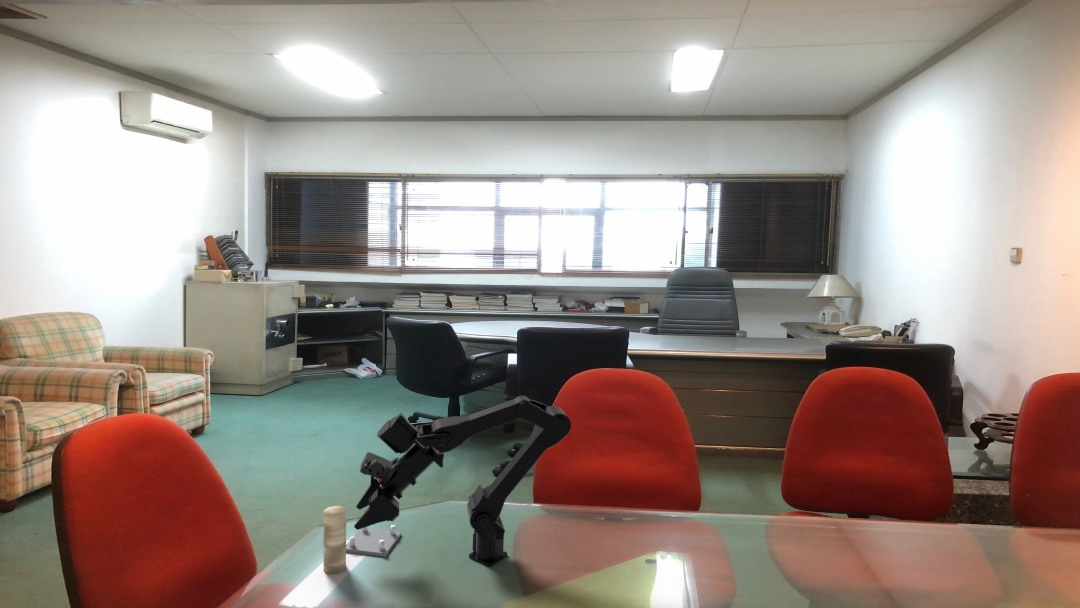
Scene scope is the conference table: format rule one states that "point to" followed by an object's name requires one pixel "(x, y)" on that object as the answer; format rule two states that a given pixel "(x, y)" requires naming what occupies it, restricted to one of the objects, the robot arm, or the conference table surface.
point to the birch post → (334, 539)
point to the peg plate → (373, 541)
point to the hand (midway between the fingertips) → (356, 517)
